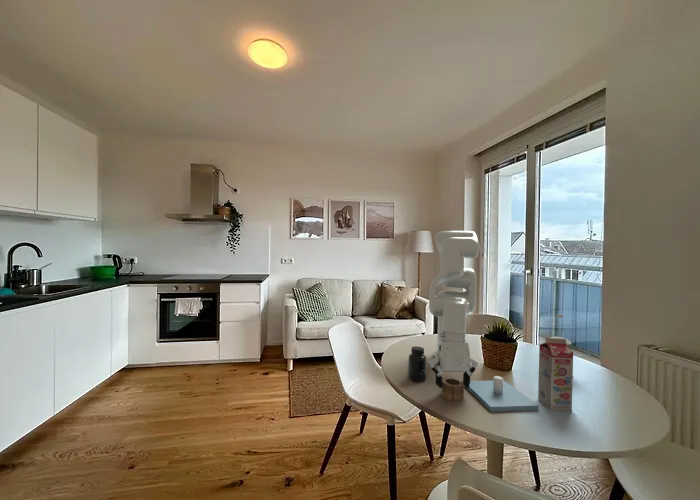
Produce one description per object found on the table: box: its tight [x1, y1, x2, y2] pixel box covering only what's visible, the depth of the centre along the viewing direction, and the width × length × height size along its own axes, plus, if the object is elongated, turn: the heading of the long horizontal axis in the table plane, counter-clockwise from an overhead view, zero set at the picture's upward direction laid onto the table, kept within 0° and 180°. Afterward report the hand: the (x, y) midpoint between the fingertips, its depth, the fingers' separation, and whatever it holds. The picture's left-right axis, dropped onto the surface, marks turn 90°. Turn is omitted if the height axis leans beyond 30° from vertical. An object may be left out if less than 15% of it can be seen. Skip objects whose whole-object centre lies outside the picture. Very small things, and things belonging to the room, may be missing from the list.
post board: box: [464, 375, 539, 412], centre depth 102 cm, size 18×16×6 cm
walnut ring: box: [440, 376, 465, 403], centre depth 102 cm, size 7×7×5 cm
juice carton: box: [537, 337, 574, 411], centre depth 98 cm, size 7×7×22 cm
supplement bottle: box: [407, 345, 427, 383], centre depth 115 cm, size 7×7×12 cm
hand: (452, 386), depth 101 cm, fingers open, 9 cm apart
